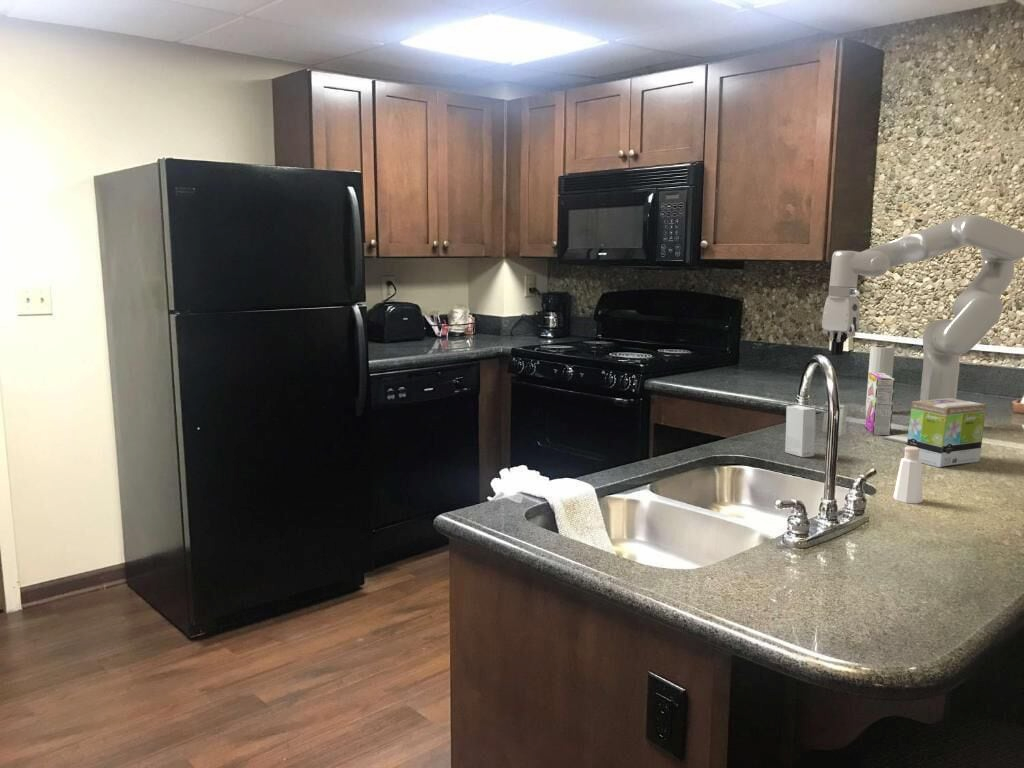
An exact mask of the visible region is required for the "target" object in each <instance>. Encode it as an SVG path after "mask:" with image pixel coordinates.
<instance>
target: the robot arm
mask: <svg viewBox="0 0 1024 768" xmlns="http://www.w3.org/2000/svg"><path fill="white" fill-rule="evenodd" d="M968 246H972V247H973V248H977V249H979V250H980V252H981V257H982V265H981V266H982V267H981V269H980V271H979V272H978V273H977V274H976V275H975V278H974V279H972V280H971V282H970V283H969V284H968V285H967V287H965V289H963V291H962V292H961V293H960V294H959V295H958V296H957V297H956V298H955V300H954V301H953V303H952V306H951V312H952V314H953V316H954V318H953V319H947V318H940V319H939V318H938V319H935V320H933V321H932V322H930V323H928V324H927V326H926V327H925V329H924V330H923V334H922V346H923V347H922V349H923V350H922V351H923V362H922V372H921V383H920V395H919V401H922V400H934V399H946V398H953V399H957V393H958V382H959V375H960V355H964V354H966V353H968V352H969V351H971V350H972V349H973V348H974V347H975V346H976V345H977V344H978V343H979V342H980V341H981V340H982V338H984V337H985V335H986V334H987V333H989V331H990V330H991V329H992V328H993V327H995V326H994V325H996V323H997V322H998V321H999V319H1000V318H1001V315H1002V313H1003V307H1004V306H1003V302H1002V299H1001V298H1000V297H1001V296H1002V295H1003V293H1005V292H1006V290H1007V289H1008V288H1009V286H1010V284H1011V283H1012V282H1013V278H1014V275H1015V274H1014V273H1015V262H1017V261H1019V260H1022V259H1023V258H1024V232H1023V231H1021V230H1019V229H1017V228H1014V227H1012V226H1009V225H1006V224H1004V223H1001V222H998V221H996V220H994V219H991V218H988V217H987V216H986V217H985V216H983V215H978V214H970V215H963V216H962V215H961V216H957V217H955V218H952V219H949V220H946V221H943V222H940V223H938V224H936V225H935V224H934V225H932V226H929V227H927V228H924V229H921V230H918V231H915V232H913V233H910V234H907V235H904V236H902V237H899V238H897V239H894V240H890V241H888V242H885V243H882V244H879V245H876V246H874V247H871V248H867V249H865V250H862V251H857V250H856V251H855V250H835V251H834V252H833V253H832V256H831V266H830V277H829V287H828V296H827V297H826V299H825V301H824V302H825V304H824V306H823V311H822V318H821V328H822V333H823V334H825V335H827V336H828V338H829V341H830V342H831V347H830V355H831V356H842V355H843V352H844V346H845V345H844V344H845V343H846V341H847V340H848V339H849V338H852V337H855V336H856V332H858V331H859V328H860V301H859V298H857V295H859V294H860V291H859V290H858V278H859V276H862V277H871V278H876V277H880V276H883V275H885V274H887V272H889V271H888V270H889V269H890V268H893V267H896V266H900V265H903V264H911V263H917V262H923V261H926V260H929V259H932V258H935V257H938V256H940V255H943V254H946V253H948V252H952V251H954V250H955V251H956V250H958V249H960V248H964V247H968Z"/></svg>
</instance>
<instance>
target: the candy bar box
mask: <svg viewBox="0 0 1024 768" xmlns="http://www.w3.org/2000/svg"><path fill="white" fill-rule="evenodd" d="M895 382H896V381H895V378H893V376H892V377H890V376H889V375H887V374H886V373H869V372H868V375H867V385H868V388H867V387H866V388H867V389H866V398H867V403H866V402H865V421H864V428H865V429H866V430H867V431H868V430H869V431H868V432H869V433H870V434H872V436H876V435H882V436H881V437H886V436H891V431H892V418H893V409H894V408H893V407H894V406H893V405H894V394H895V393H894V391H895Z"/></svg>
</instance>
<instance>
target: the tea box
mask: <svg viewBox="0 0 1024 768" xmlns="http://www.w3.org/2000/svg"><path fill="white" fill-rule="evenodd" d="M910 407H911V409H910V416H909V422H908V423H909V425H908V431H907V433H908V441H907V444H906V447H907V446H912V447H917V448H919V449H920V451H919V456H918V457H919V458H918V459H919V460H920V461H921V464H924V465H929V466H932V467H935V468H937V467H938V468H942V467H943V468H944V467H948V466H954V465H964V464H972V463H979V462H980V460H981V452H982V444H983V437H984V436H983V435H984V429H985V420H986V413H987V404H985V403H981V402H976V401H975V402H974V401H968V400H963V399H958V398H956V399H953V398H946V399H934V400H922V401H920V400H913V401H912V402H911V406H910Z"/></svg>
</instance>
